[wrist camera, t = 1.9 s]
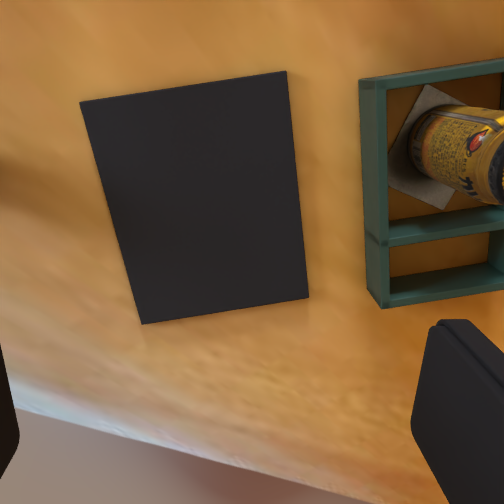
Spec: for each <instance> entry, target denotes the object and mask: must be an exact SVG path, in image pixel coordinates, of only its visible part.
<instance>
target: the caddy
mask: <svg viewBox="0 0 504 504" xmlns="http://www.w3.org/2000/svg"><path fill="white" fill-rule="evenodd" d="M502 72H503V75H502V87H501V99H500V111H504V57H503V58H496V59H490V60H483V61H477V62H470V63H464V64H457V65H451V66H444V67H438V68H431V69H425V70H418V71H411V72H405V73H398V74H392V75H385V76H379V77H372V78H366V79H359V80H358V81H359V106H360V131H361V156H362V180H363V205H364V230H365V255H366V280H367V290H368V291H369V292H370V294H371V295H372V297H373V298H374V300H375V301H376V302H377V304H378V305H379V307H380V308H381V309H387V308H393V307H400V306H406V305H412V304H418V303H424V302H430V301H437V300H443V299H449V298H455V297H461V296H468V295H474V294H480V293H486V292H492V291H498V290H504V205H499V204H492V205H488V206H481V207H475V208H469V209H462V210H456V211H450V212H443V213H437V214H431V215H425V216H418V217H412V218H406V219H399V220H393V221H389V218H388V159H387V100H386V90H391V89H398V88H404V87H411V86H417V85H424V84H430V83H437V82H443V81H450V80H456V79H463V78H469V77H476V76H482V75H489V74H495V73H502ZM489 231H490V236H489V248H488V260H487V262H486V263H480V264H474V265H468V266H462V267H455V268H449V269H443V270H437V271H430V272H424V273H418V274H412V275H406V276H399V277H393V278H389V247H395V246H401V245H407V244H414V243H420V242H426V241H432V240H439V239H445V238H451V237H458V236H464V235H470V234H476V233H483V232H489Z"/></svg>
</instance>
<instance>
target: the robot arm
mask: <svg viewBox="0 0 504 504" xmlns="http://www.w3.org/2000/svg"><path fill="white" fill-rule="evenodd" d="M411 431H412V435H413V437H414V439H415V441H416V443H417V445H418V447H419V448H420V450H421V452H422V454H423V456H424V458H425V459H426V461H427V463H428V465H429V467H430V469H431V471H432V472H433V474H434V476H435V478H436V480H437V482H438V483H439V485H440V487H441V489H442V491H443V493H444V494H445V496H446V498H447V500H448V502H449V504H504V353H503V352H502V351H501V350H500V349H499V348H498V347H497V346H496V345H494V344H493V343H492V342H491V341H490V340H489V339H488V338H487V337H486V336H485V335H484V334H483V333H482V332H481V331H480V330H479V329H478V328H477V327H476V326H475V325H474V324H472V323H471V322H470V321H469V320H467V319H441V320H439V321H438V322H437V324H436V326H432V327H431V328H430V329H429V332H428V337H427V342H426V347H425V352H424V357H423V362H422V366H421V371H420V376H419V381H418V386H417V391H416V396H415V401H414V406H413V411H412V416H411ZM19 437H20V434H19V427H18V423H17V418H16V413H15V409H14V404H13V400H12V395H11V391H10V386H9V382H8V377H7V373H6V368H5V364H4V359H3V355H2V350H1V345H0V479H1V477H2V475H3V473H4V471H5V469H6V468H7V466H8V464H9V463H10V461H11V459H12V457H13V455H14V454H15V452H16V449H17V447H18V444H19Z"/></svg>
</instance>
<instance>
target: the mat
mask: <svg viewBox="0 0 504 504" xmlns="http://www.w3.org/2000/svg"><path fill="white" fill-rule="evenodd" d="M79 104H80V107H81V111H82V114H83V118H84V121H85V125H86V129H87V132H88V136H89V139H90V143H91V146H92V150H93V153H94V157H95V161H96V164H97V168H98V171H99V175H100V178H101V182H102V186H103V189H104V193H105V196H106V200H107V203H108V207H109V210H110V214H111V218H112V221H113V225H114V228H115V232H116V235H117V239H118V242H119V246H120V250H121V253H122V257H123V260H124V264H125V267H126V271H127V274H128V278H129V282H130V285H131V289H132V292H133V296H134V299H135V303H136V307H137V310H138V314H139V317H140V321H141V324H142V325H143V324H149V323H156V322H162V321H168V320H174V319H180V318H187V317H193V316H199V315H205V314H211V313H218V312H224V311H230V310H236V309H243V308H249V307H255V306H261V305H267V304H274V303H280V302H286V301H292V300H298V299H305V298H309V291H308V281H307V271H306V261H305V251H304V241H303V231H302V221H301V211H300V201H299V192H298V182H297V172H296V162H295V152H294V142H293V132H292V122H291V112H290V102H289V92H288V82H287V72H286V71H280V72H274V73H267V74H261V75H254V76H247V77H241V78H234V79H228V80H221V81H215V82H208V83H201V84H195V85H188V86H182V87H175V88H169V89H162V90H155V91H149V92H142V93H136V94H129V95H123V96H116V97H109V98H103V99H96V100H90V101H83V102H79Z"/></svg>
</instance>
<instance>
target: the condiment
mask: <svg viewBox="0 0 504 504" xmlns="http://www.w3.org/2000/svg"><path fill="white" fill-rule="evenodd" d="M387 159H388V186H389V187H391V188H394V189H396V190H398V191H401V192H403V193H405V194H407V195H410V196H412V197H414V198H416V199H419V200H421V201H423V202H425V203H428V204H430V205H432V206H434V207H437V208H439V209H441V210H444V208H445V206H446V205H447V204H448V202H449V200H450V198H451V196H452V195H453V193H454V192H455V191H456V190H457V191H459V192H461V193H464V194H466V195H468V196H470V197H472V198H474V199H475V200H477V201H480V202H484V203H487V204H499V205H504V111H500V110H491V109H487V108H479V107H470V106H468V105H466V104H464V103H463V102H461V101H459V100H457V99H455V98H453V97H451V96H449V95H447V94H445V93H444V92H442V91H440V90H438V89H436V88H434V87H432V86H430V85H428V84H426V85H425V86H424V88H423V90H422V92H421V94H420V96H419V97H418V99H417V101H416V103H415V104H414V106H413V108H412V111H411V112H410V114H409V116H408V117H407V119H406V121H405V124H404V125H403V127H402V129H401V131H400V133H399V135H398V137H397V139H396V141H395V143H394V145H393V147H392V148H391V150H390V152H389V154H388V156H387Z"/></svg>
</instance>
